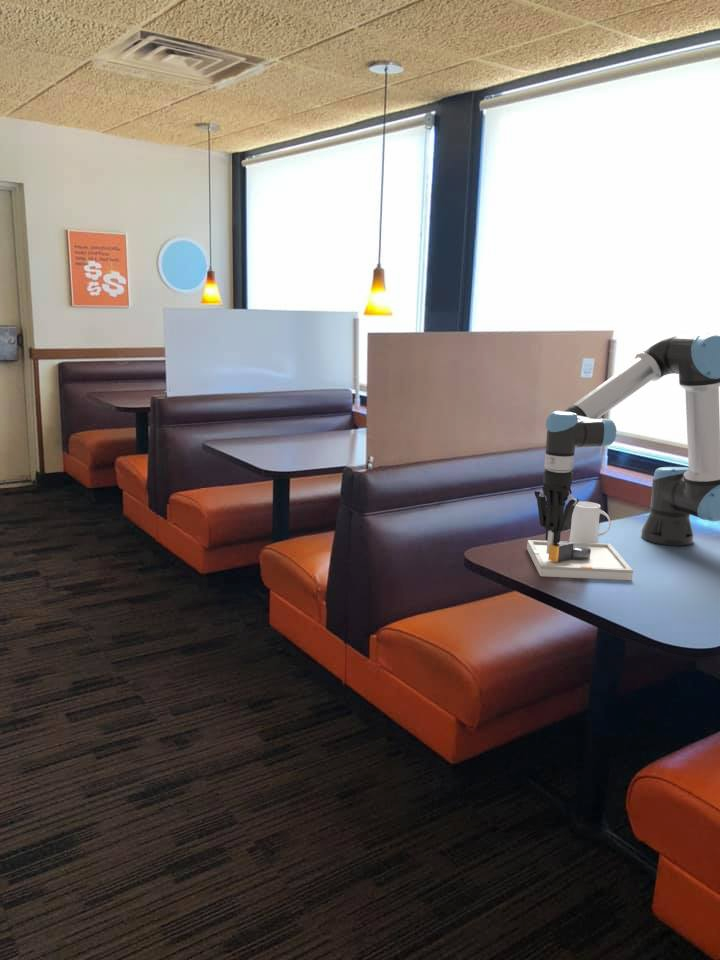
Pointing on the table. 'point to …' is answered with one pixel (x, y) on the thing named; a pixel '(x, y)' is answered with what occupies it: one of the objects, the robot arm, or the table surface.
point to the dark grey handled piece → (567, 551)
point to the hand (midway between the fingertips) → (551, 553)
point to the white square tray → (581, 562)
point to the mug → (586, 522)
